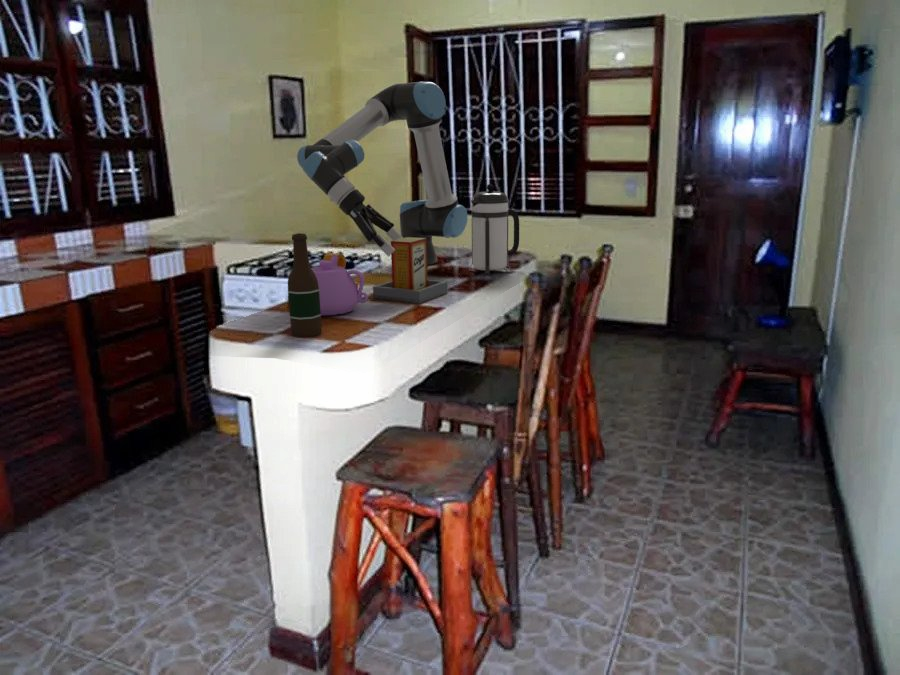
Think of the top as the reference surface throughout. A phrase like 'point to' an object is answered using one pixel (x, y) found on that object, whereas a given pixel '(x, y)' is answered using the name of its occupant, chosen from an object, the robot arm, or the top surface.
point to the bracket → (340, 261)
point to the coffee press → (492, 230)
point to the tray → (410, 292)
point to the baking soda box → (409, 263)
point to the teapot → (338, 288)
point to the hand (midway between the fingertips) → (398, 249)
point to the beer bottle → (303, 292)
